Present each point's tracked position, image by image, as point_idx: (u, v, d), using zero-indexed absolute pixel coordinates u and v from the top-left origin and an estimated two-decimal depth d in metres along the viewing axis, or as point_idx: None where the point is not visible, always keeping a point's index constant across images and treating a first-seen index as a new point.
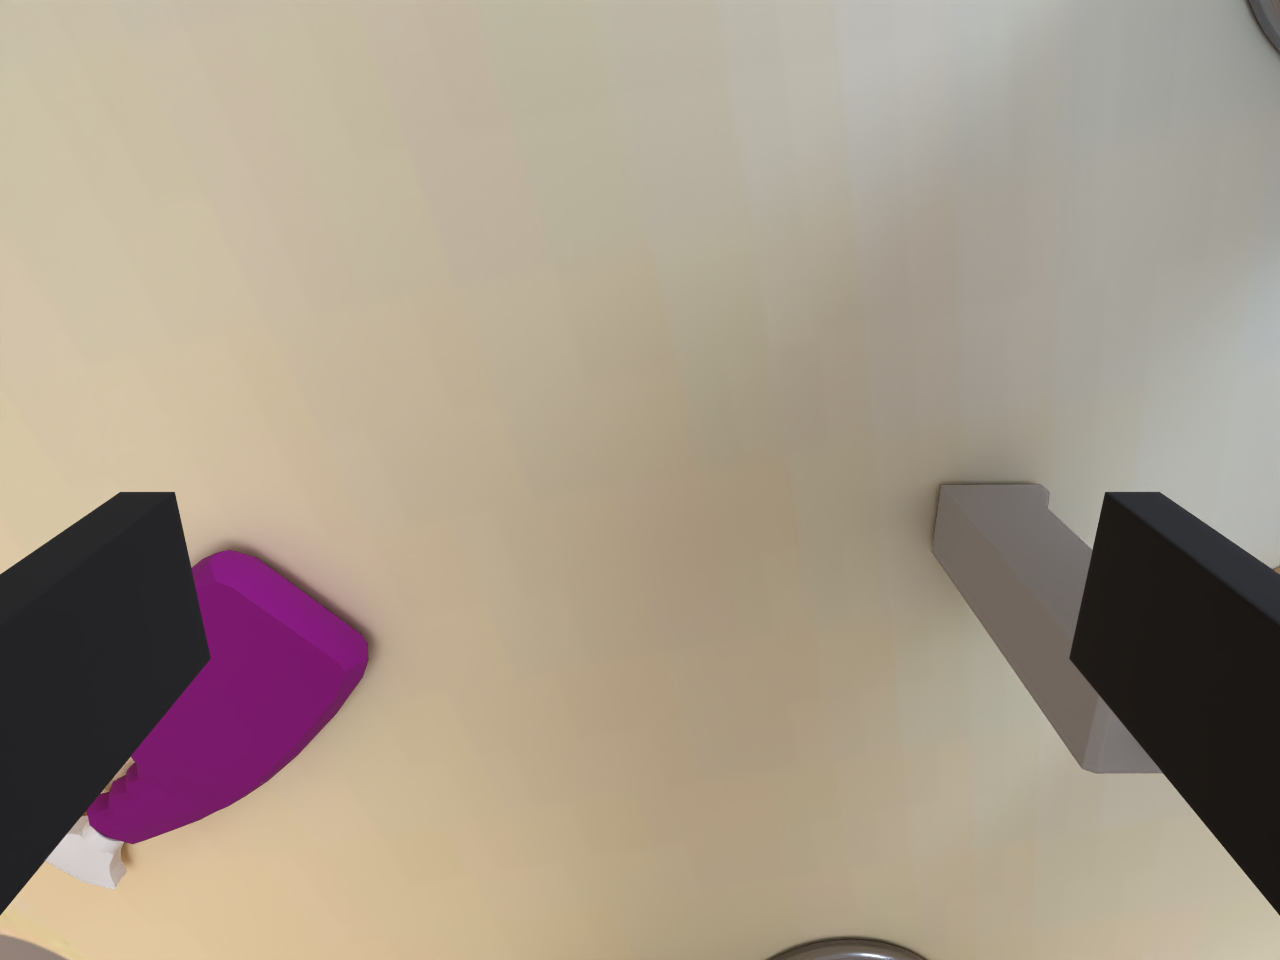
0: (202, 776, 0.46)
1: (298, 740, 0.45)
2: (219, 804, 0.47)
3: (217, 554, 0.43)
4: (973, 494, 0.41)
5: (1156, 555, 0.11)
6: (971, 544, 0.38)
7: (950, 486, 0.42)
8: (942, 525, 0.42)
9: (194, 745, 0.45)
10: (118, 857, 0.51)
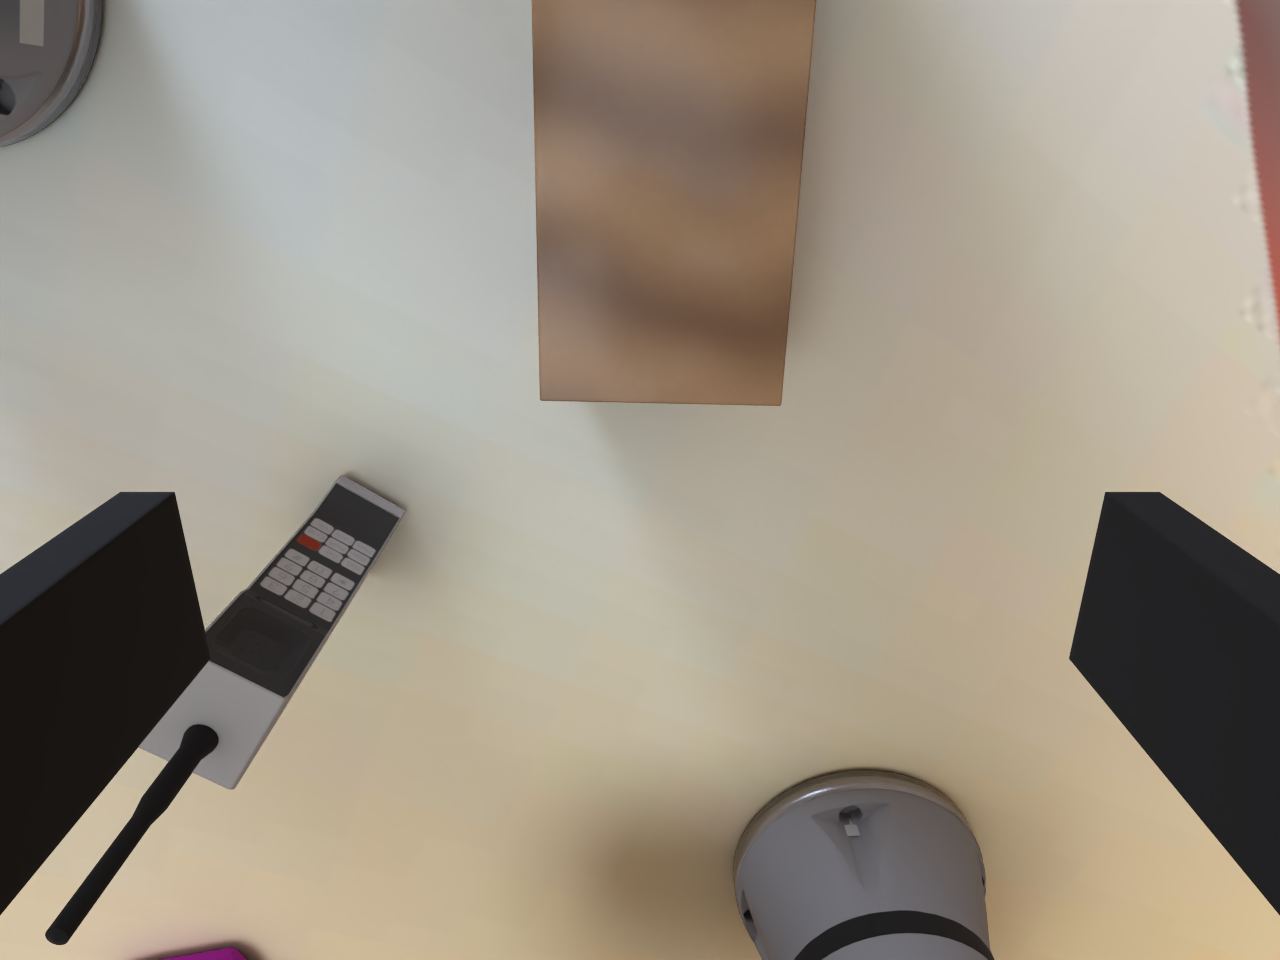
0: None
1: None
2: None
3: None
4: None
5: (1156, 555, 0.11)
6: None
7: None
8: None
9: None
10: None
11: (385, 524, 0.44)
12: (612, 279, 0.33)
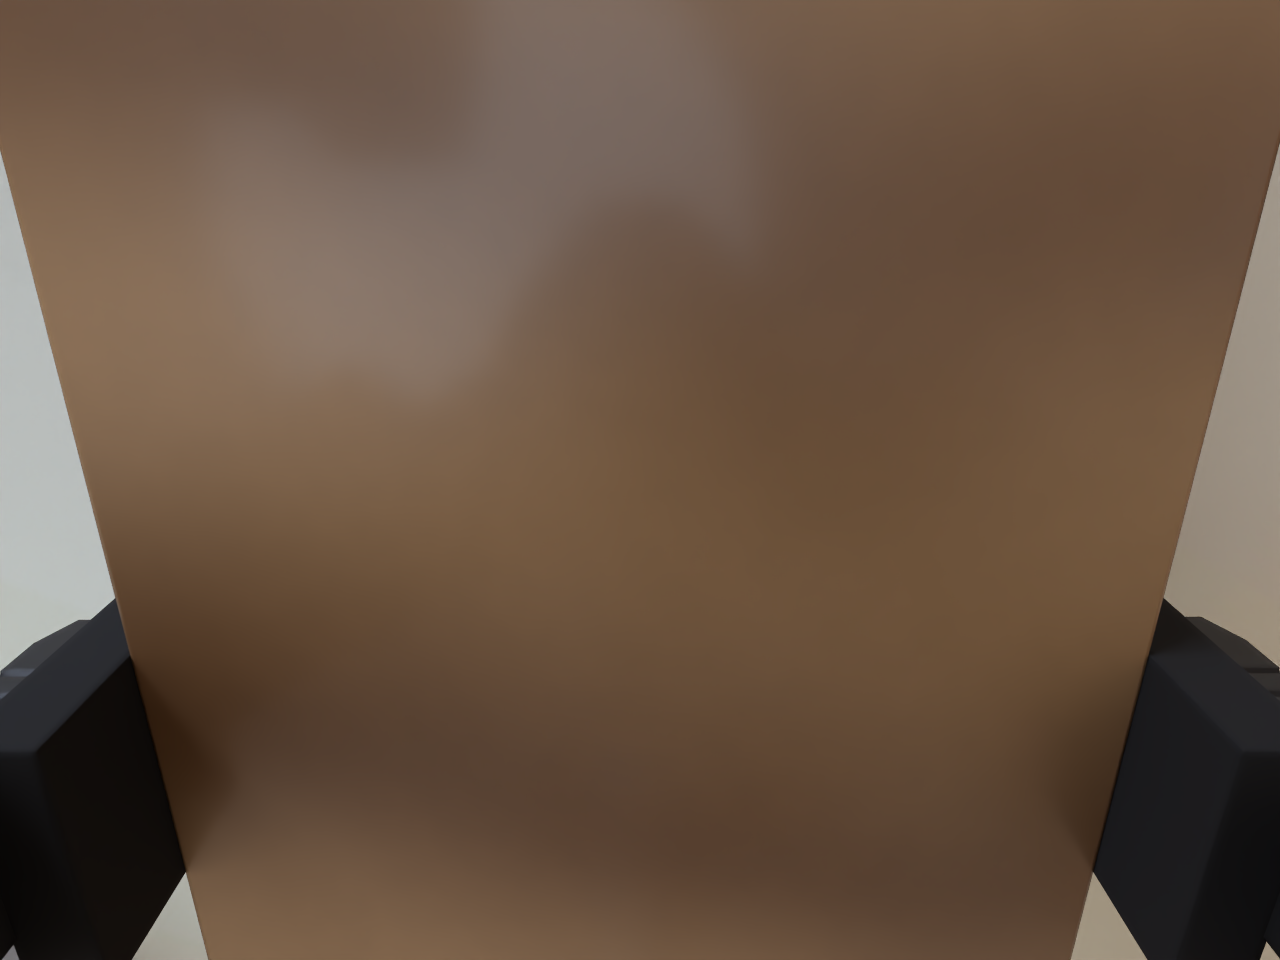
0: None
1: None
2: None
3: None
4: None
5: None
6: None
7: None
8: None
9: None
10: None
11: None
12: (438, 744, 0.09)
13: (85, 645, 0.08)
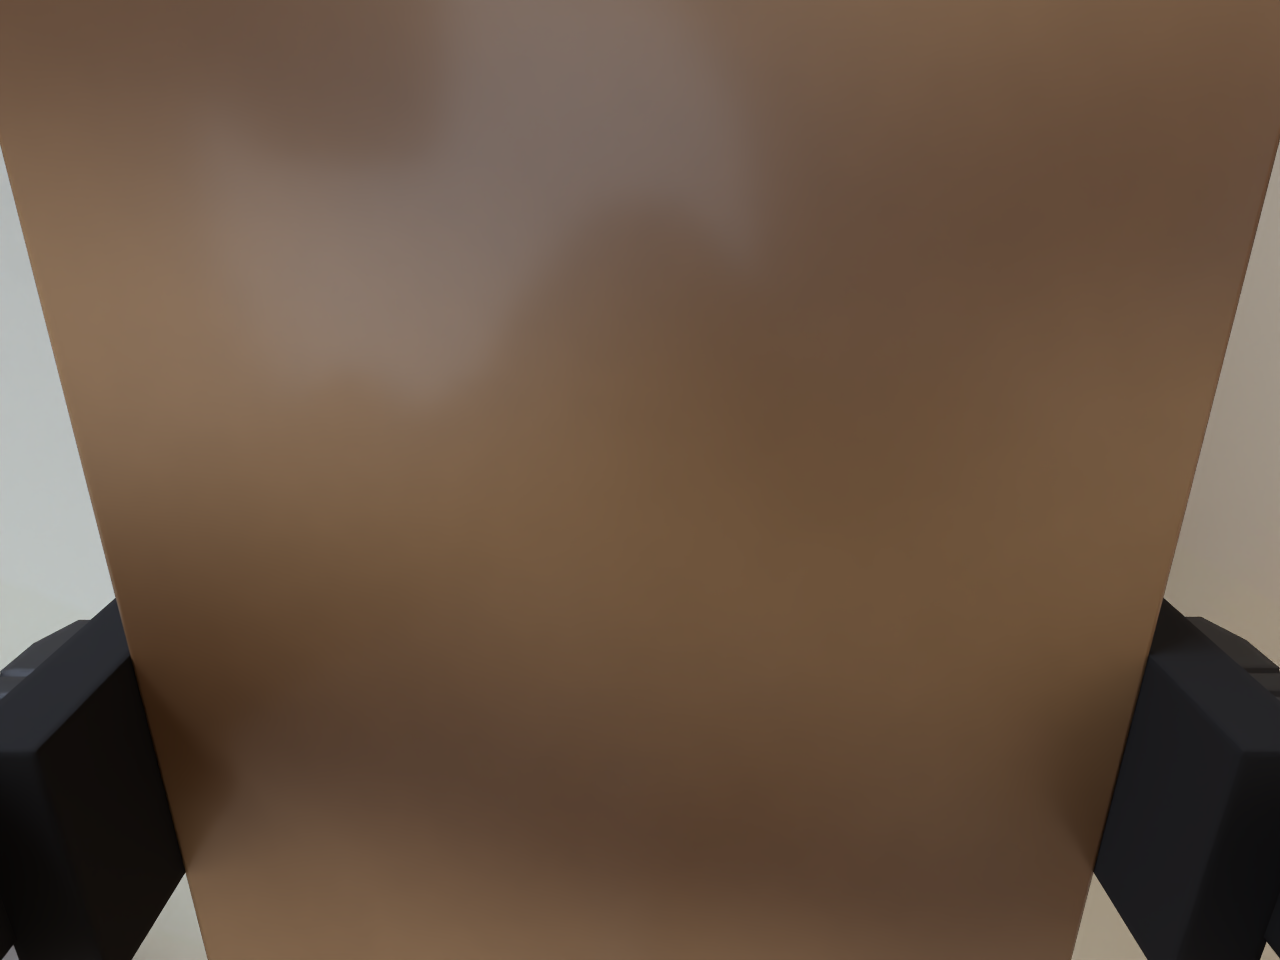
0: None
1: None
2: None
3: None
4: None
5: None
6: None
7: None
8: None
9: None
10: None
11: None
12: (439, 744, 0.09)
13: (85, 645, 0.08)
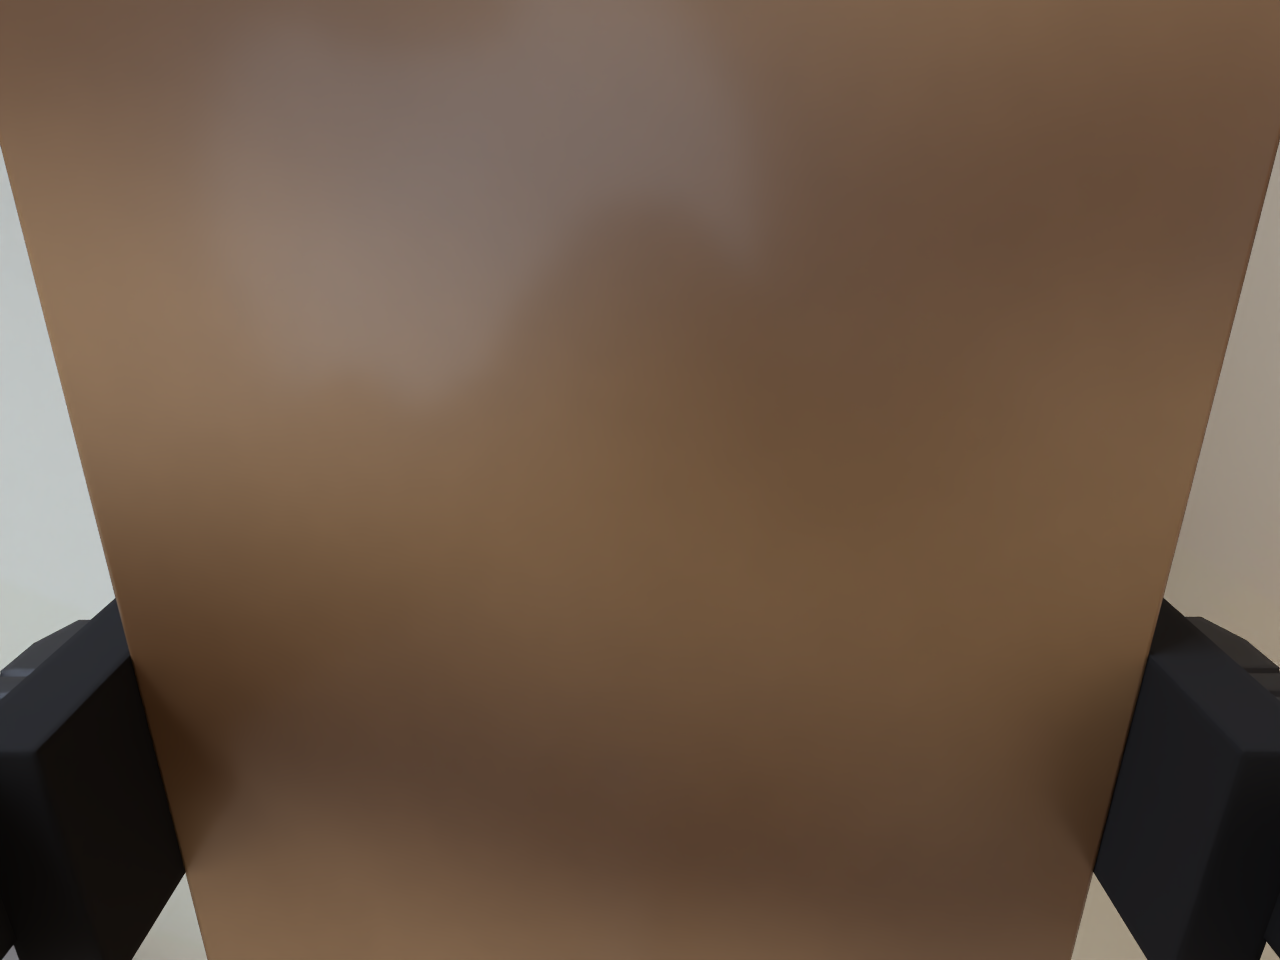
0: None
1: None
2: None
3: None
4: None
5: None
6: None
7: None
8: None
9: None
10: None
11: None
12: (438, 744, 0.09)
13: (85, 645, 0.08)
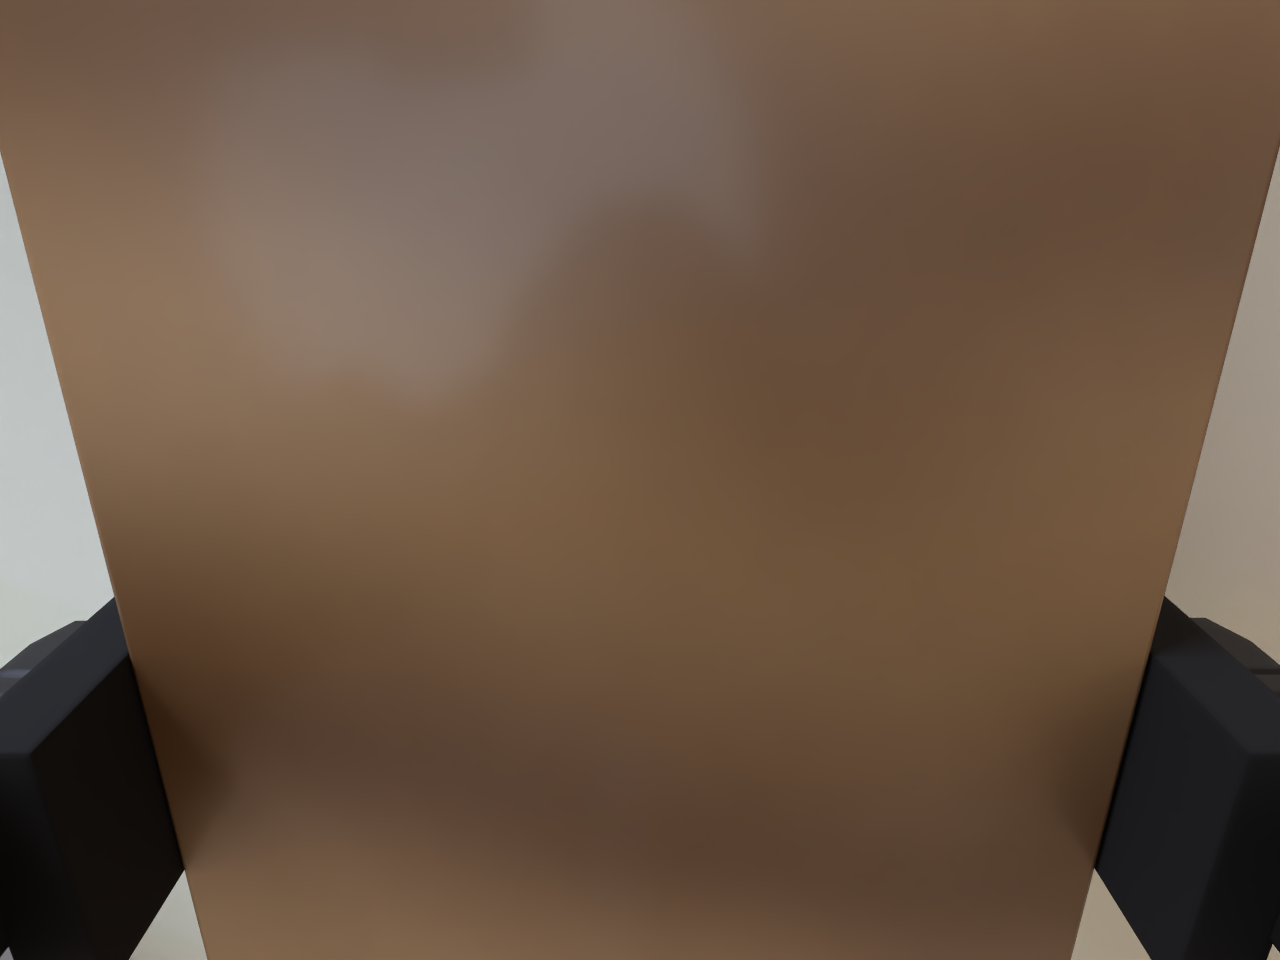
0: None
1: None
2: None
3: None
4: None
5: None
6: None
7: None
8: None
9: None
10: None
11: None
12: (438, 744, 0.09)
13: (81, 646, 0.08)
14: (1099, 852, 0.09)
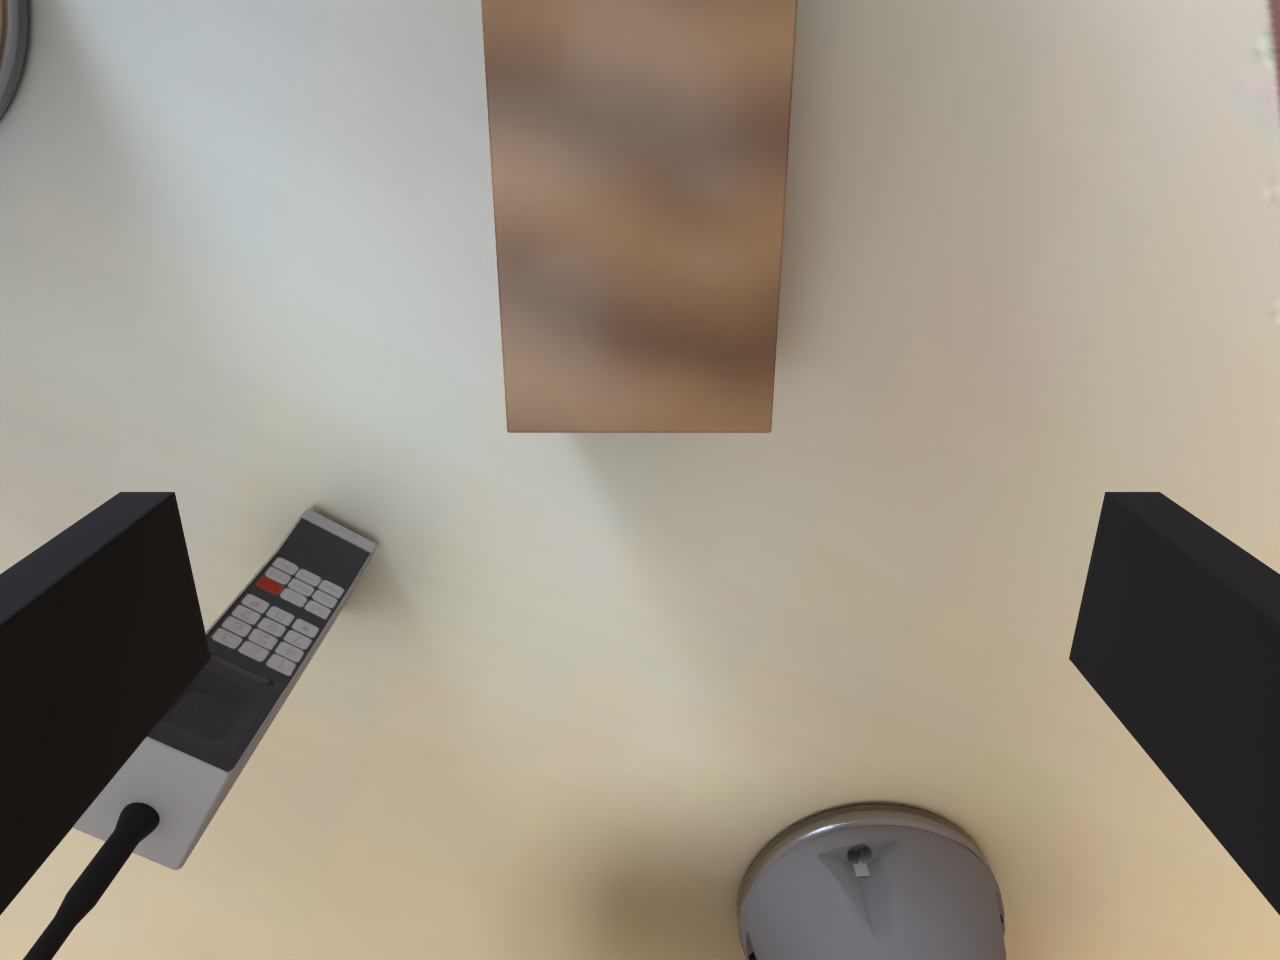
0: None
1: None
2: None
3: None
4: None
5: (1156, 555, 0.11)
6: None
7: None
8: None
9: None
10: None
11: (355, 560, 0.41)
12: (581, 299, 0.30)
13: None
14: None
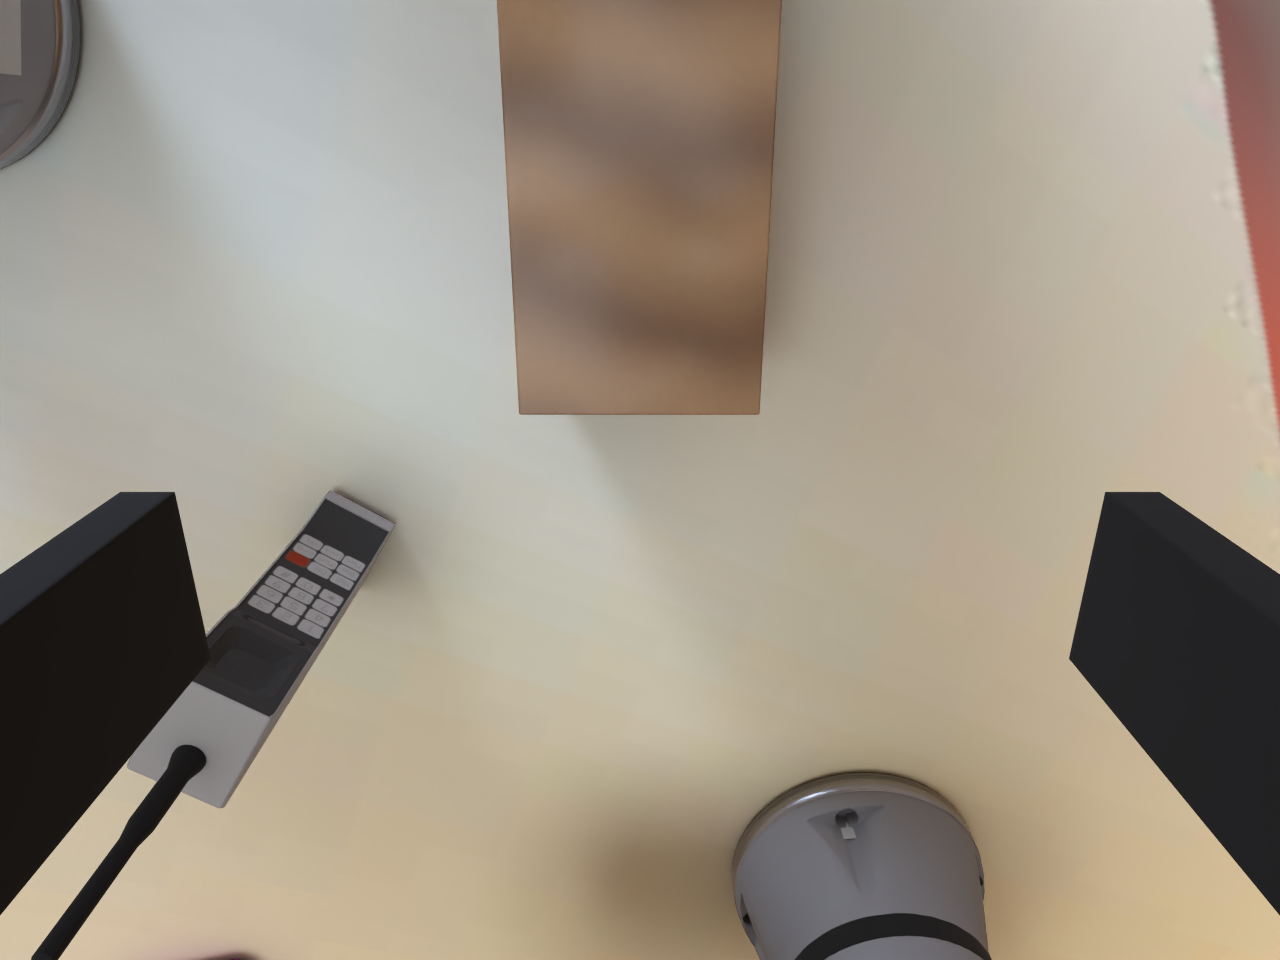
0: None
1: None
2: None
3: None
4: None
5: (1156, 555, 0.11)
6: None
7: None
8: None
9: None
10: None
11: (374, 538, 0.44)
12: (587, 293, 0.33)
13: None
14: None
